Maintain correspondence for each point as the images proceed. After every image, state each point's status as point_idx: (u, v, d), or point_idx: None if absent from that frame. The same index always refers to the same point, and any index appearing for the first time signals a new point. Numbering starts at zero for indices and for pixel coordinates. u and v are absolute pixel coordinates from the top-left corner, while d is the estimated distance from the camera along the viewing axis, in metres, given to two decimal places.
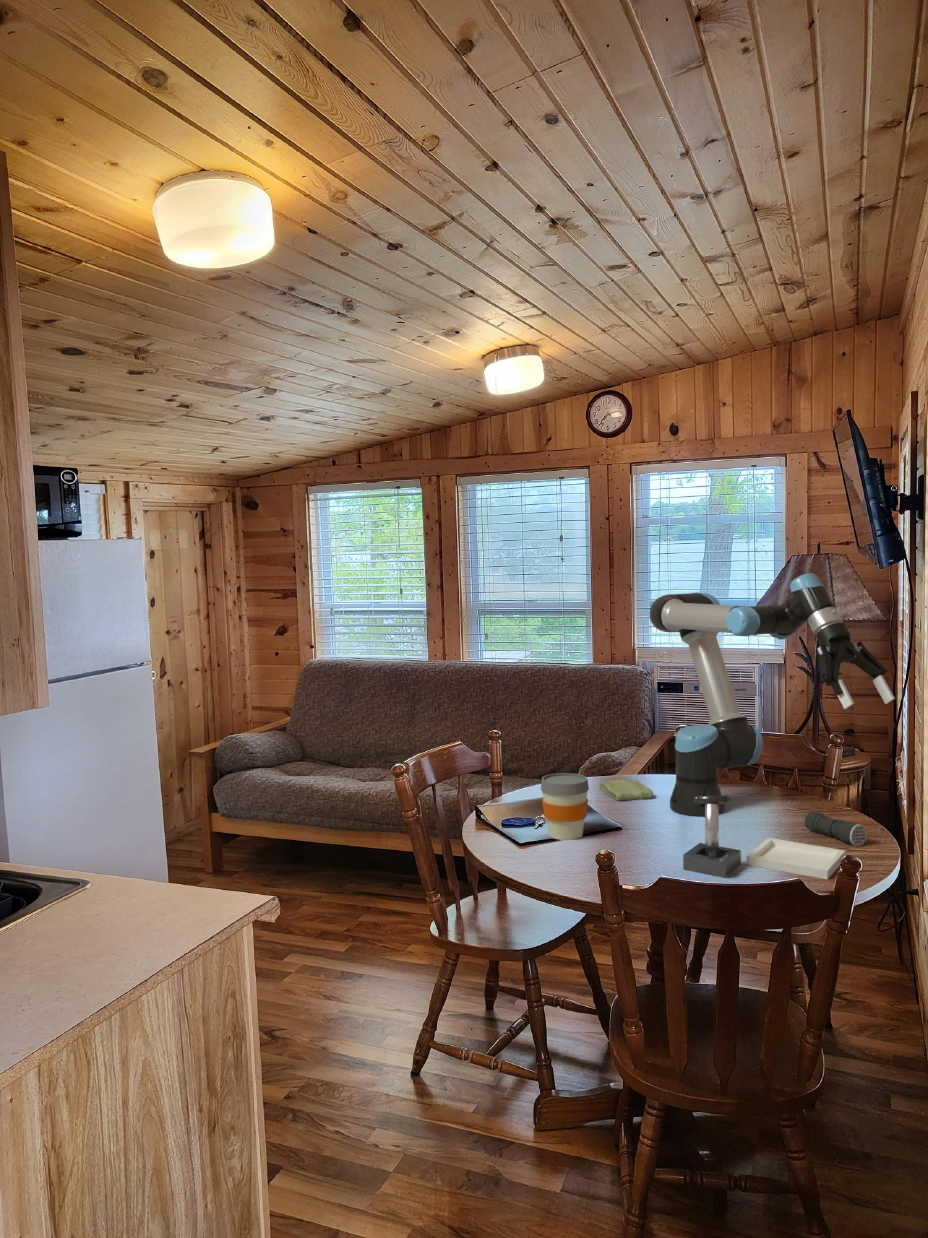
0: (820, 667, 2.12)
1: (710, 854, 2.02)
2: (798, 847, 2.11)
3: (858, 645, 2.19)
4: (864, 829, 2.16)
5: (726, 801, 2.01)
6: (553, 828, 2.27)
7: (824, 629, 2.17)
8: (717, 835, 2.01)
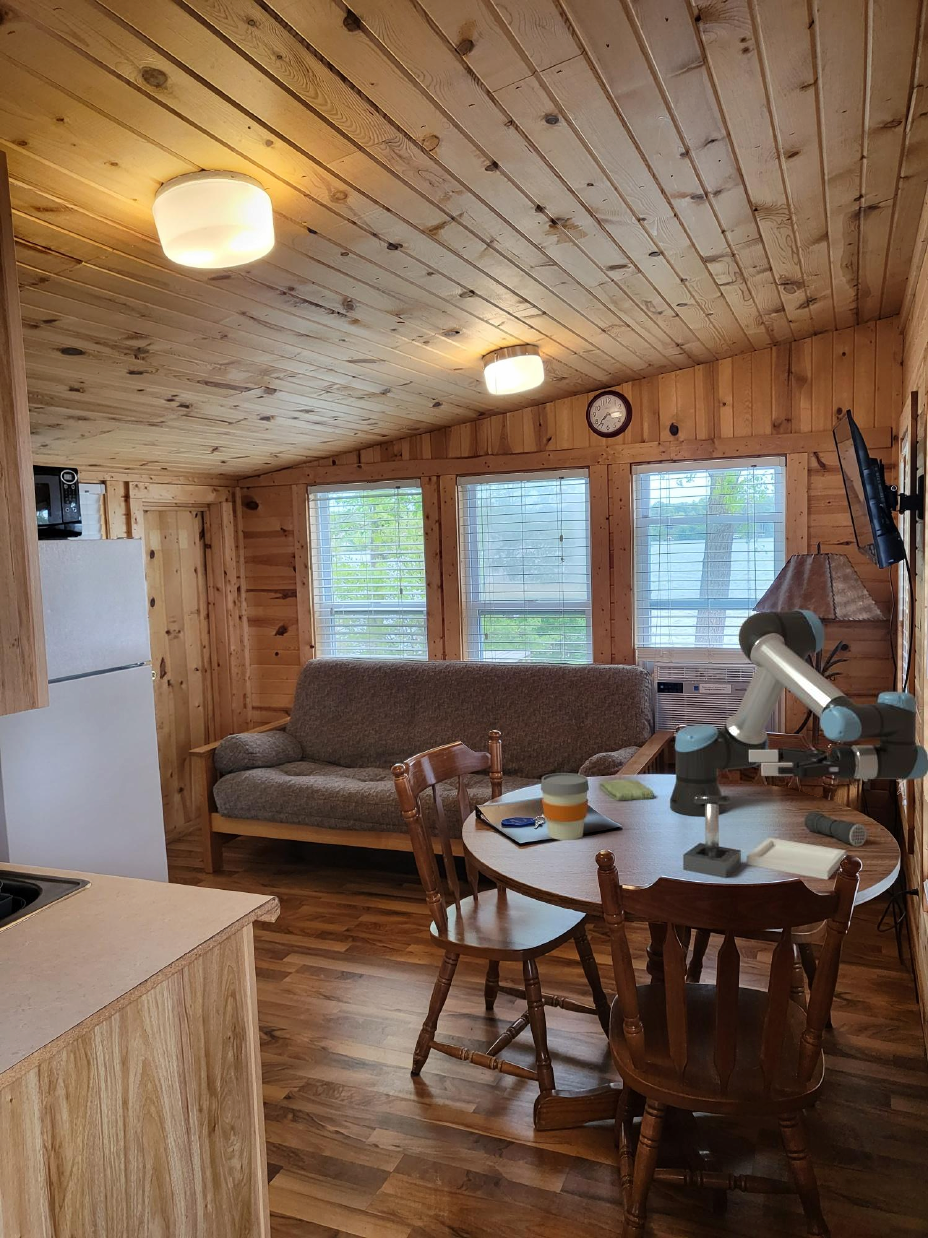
0: (816, 767, 1.90)
1: (710, 854, 2.02)
2: (798, 847, 2.11)
3: None
4: (864, 829, 2.16)
5: (726, 801, 2.01)
6: (553, 828, 2.27)
7: (853, 772, 1.94)
8: (717, 835, 2.01)
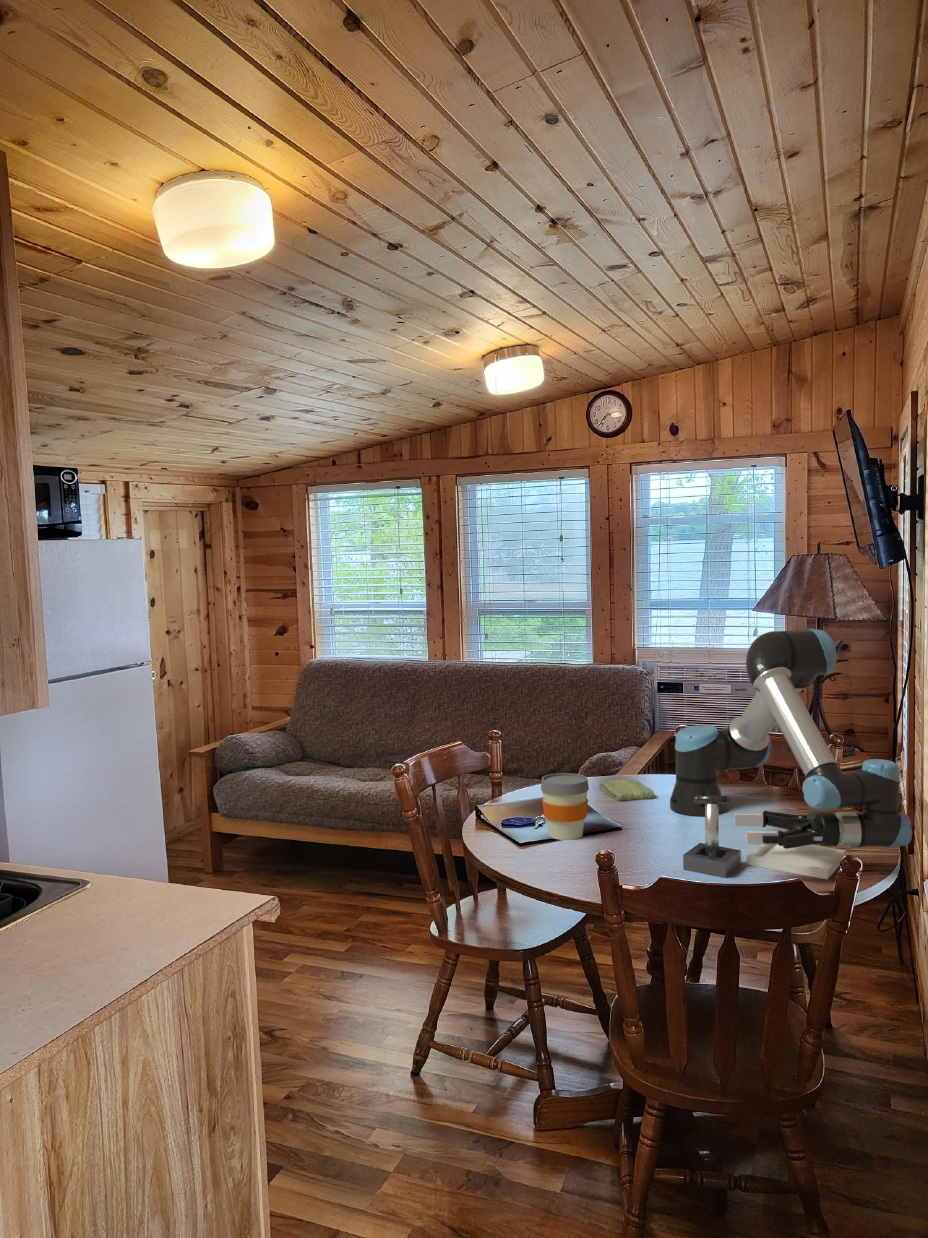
0: (800, 837, 1.91)
1: (710, 854, 2.02)
2: (798, 847, 2.11)
3: None
4: None
5: (726, 801, 2.01)
6: (553, 828, 2.27)
7: (837, 840, 1.96)
8: (717, 835, 2.01)
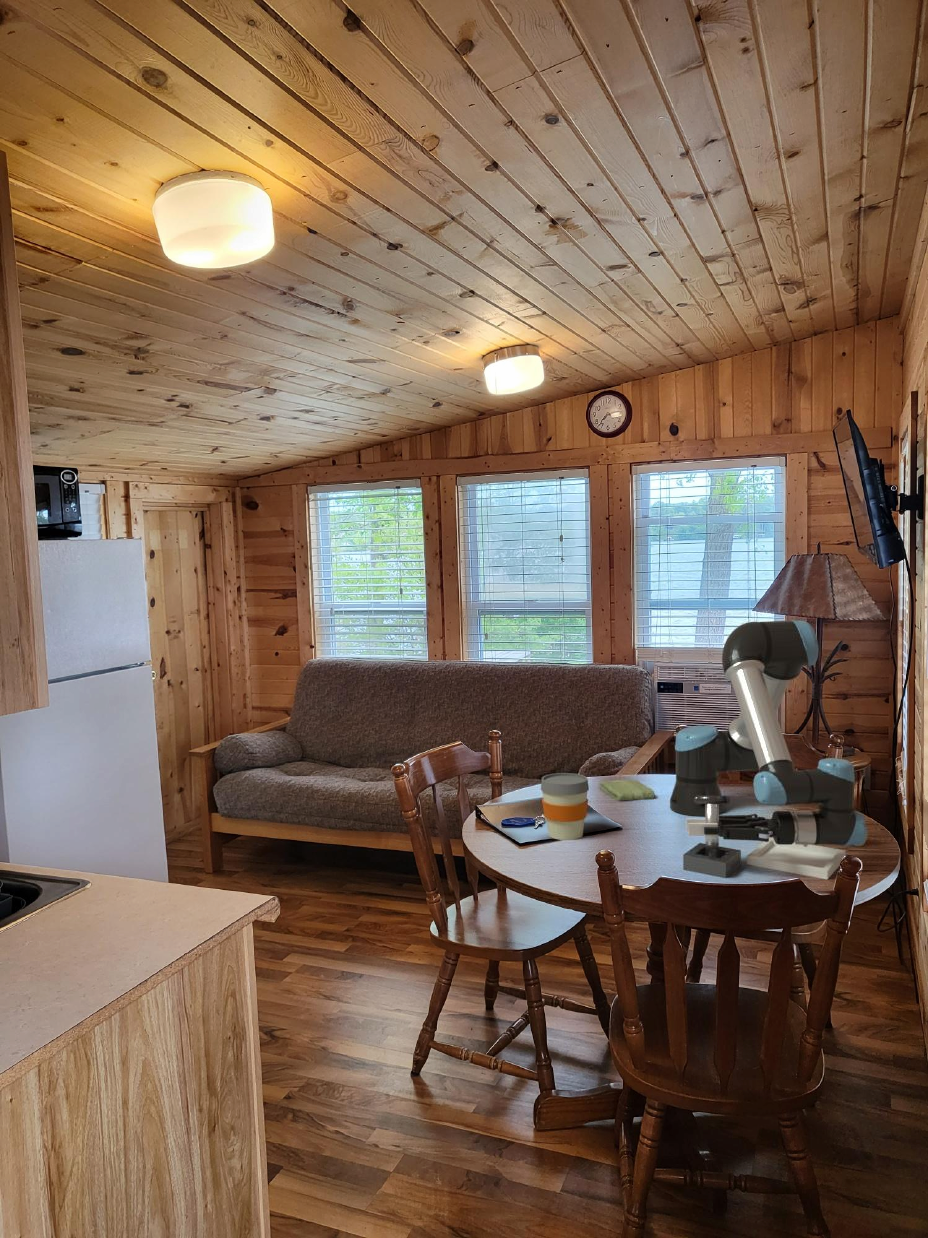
0: (741, 831, 1.96)
1: (710, 854, 2.02)
2: (798, 847, 2.11)
3: None
4: None
5: (726, 801, 2.01)
6: (553, 828, 2.27)
7: (792, 838, 1.97)
8: None
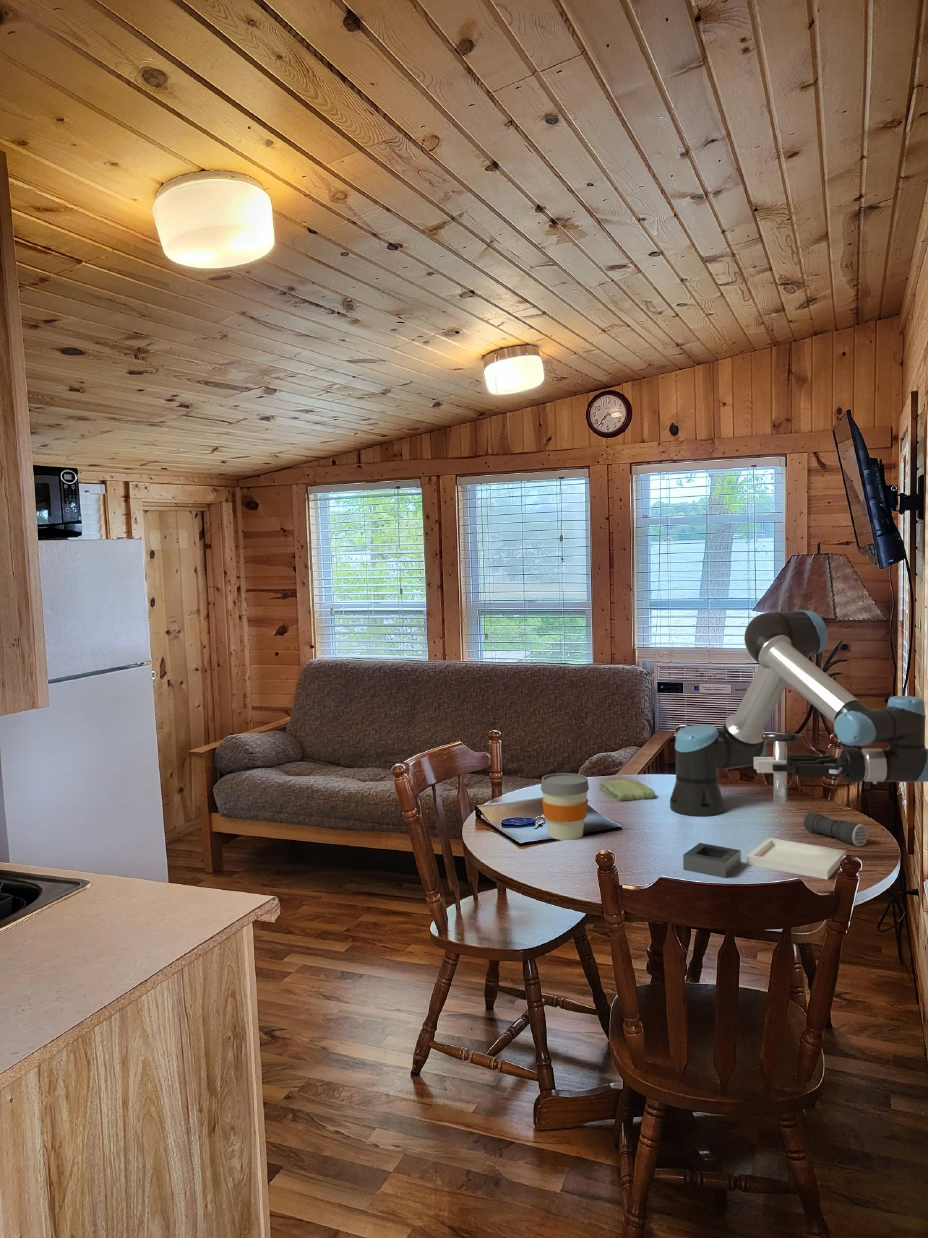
0: (811, 767, 1.97)
1: (778, 792, 2.02)
2: (798, 847, 2.11)
3: None
4: (865, 829, 2.16)
5: (795, 738, 2.01)
6: (553, 828, 2.27)
7: (862, 775, 1.97)
8: None
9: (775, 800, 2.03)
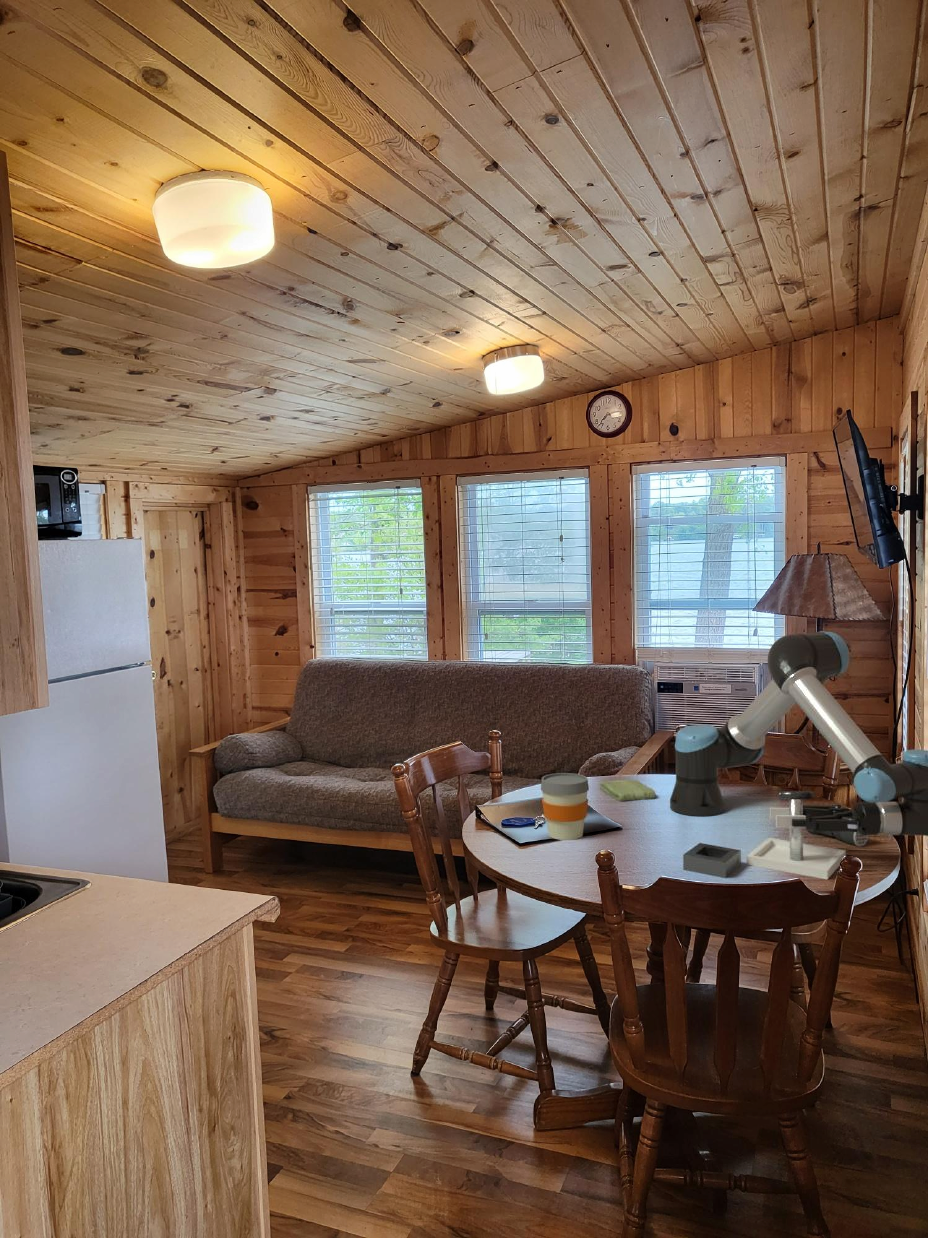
0: (831, 822, 1.98)
1: (794, 849, 2.04)
2: None
3: None
4: None
5: (810, 796, 2.03)
6: (553, 828, 2.27)
7: (878, 829, 1.99)
8: (802, 830, 2.04)
9: (791, 857, 2.05)
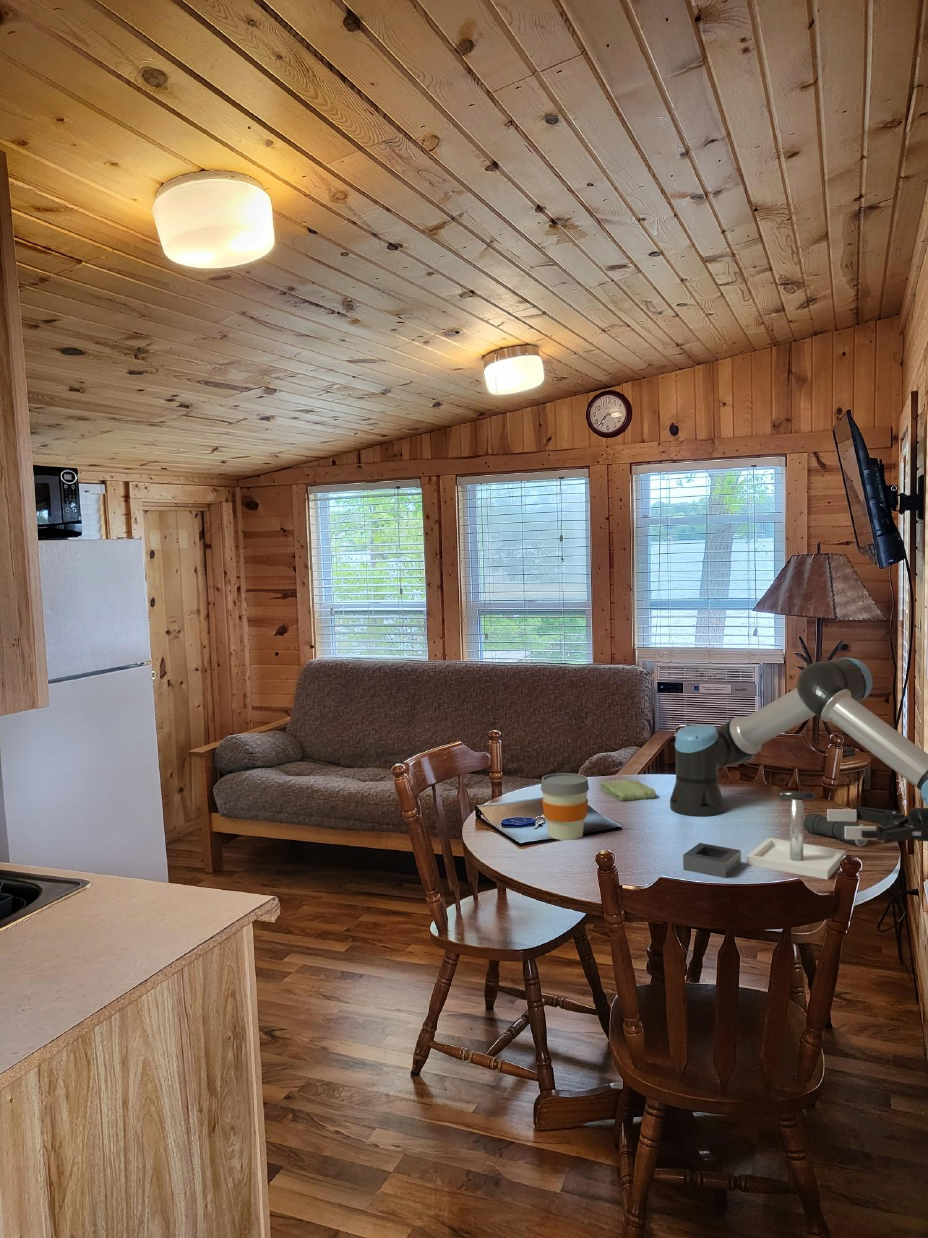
0: (900, 832, 1.93)
1: (794, 849, 2.04)
2: None
3: None
4: None
5: (812, 797, 2.03)
6: (553, 828, 2.27)
7: None
8: (802, 831, 2.04)
9: (791, 857, 2.04)
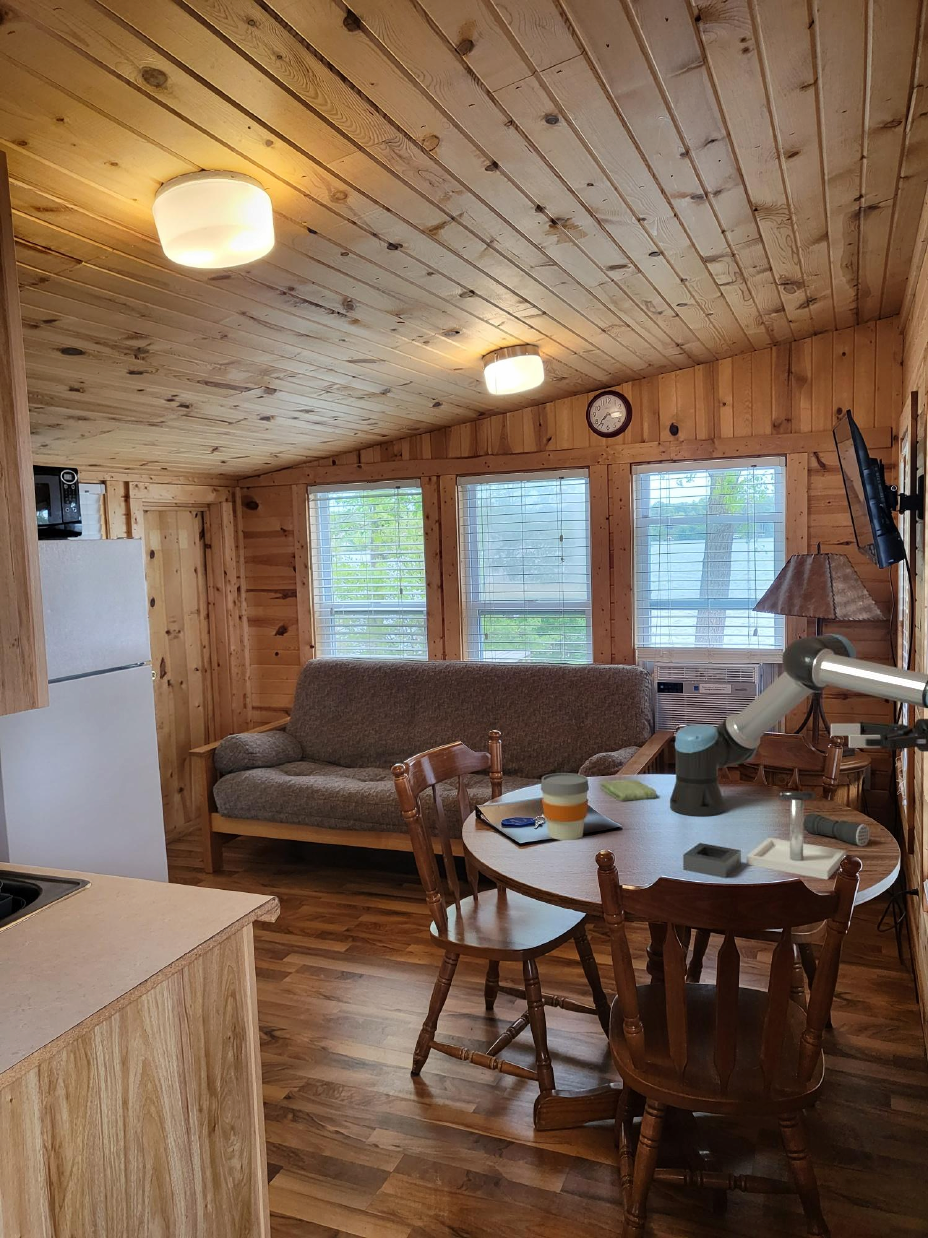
0: (904, 739, 1.92)
1: (794, 849, 2.04)
2: None
3: None
4: (867, 829, 2.16)
5: (811, 797, 2.03)
6: (553, 828, 2.27)
7: None
8: (802, 831, 2.04)
9: (791, 857, 2.04)
